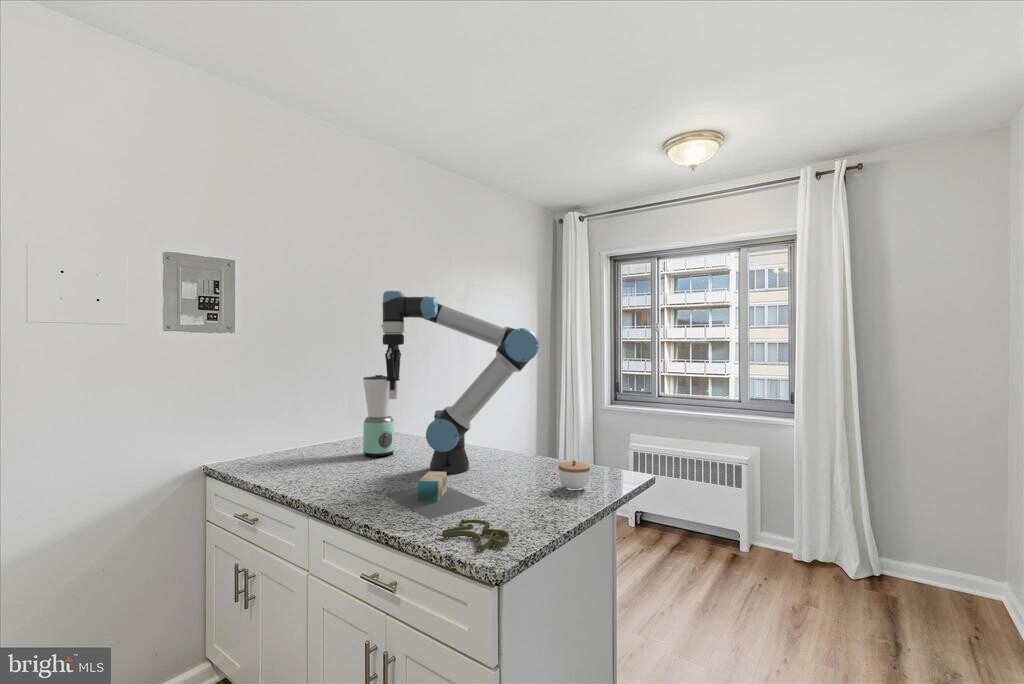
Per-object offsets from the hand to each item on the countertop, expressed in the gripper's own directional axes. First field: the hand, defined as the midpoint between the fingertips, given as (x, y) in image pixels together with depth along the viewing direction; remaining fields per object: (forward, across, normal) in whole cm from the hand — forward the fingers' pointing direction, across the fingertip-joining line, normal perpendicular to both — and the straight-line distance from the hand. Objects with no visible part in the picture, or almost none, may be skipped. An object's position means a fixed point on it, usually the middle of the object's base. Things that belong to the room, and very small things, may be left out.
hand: (393, 398), depth 175 cm
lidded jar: (+29, +10, +64) cm, 71 cm away
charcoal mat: (+29, +26, +20) cm, 44 cm away
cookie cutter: (+30, +53, +36) cm, 70 cm away
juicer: (+29, -37, -17) cm, 50 cm away
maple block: (+25, +29, +18) cm, 42 cm away
